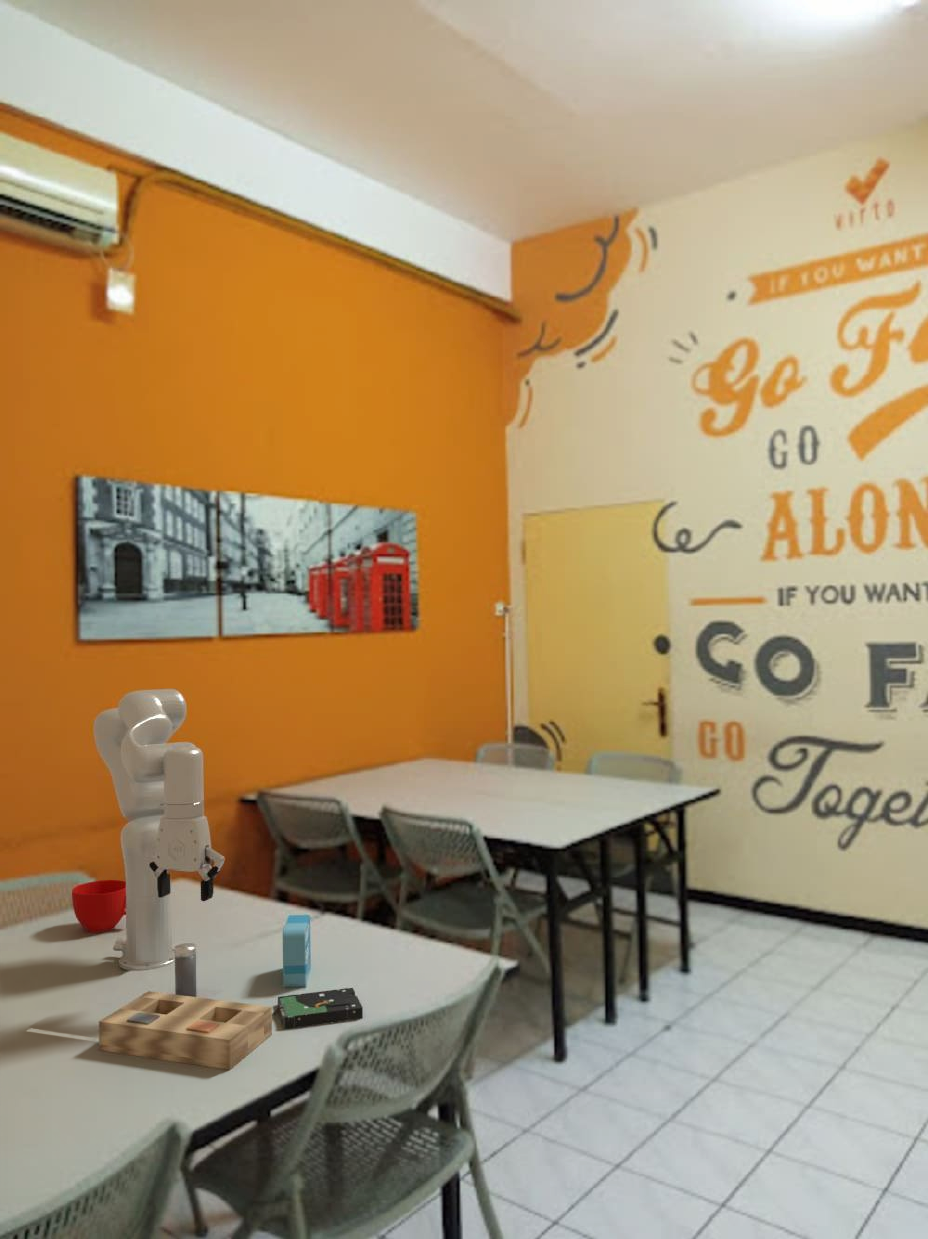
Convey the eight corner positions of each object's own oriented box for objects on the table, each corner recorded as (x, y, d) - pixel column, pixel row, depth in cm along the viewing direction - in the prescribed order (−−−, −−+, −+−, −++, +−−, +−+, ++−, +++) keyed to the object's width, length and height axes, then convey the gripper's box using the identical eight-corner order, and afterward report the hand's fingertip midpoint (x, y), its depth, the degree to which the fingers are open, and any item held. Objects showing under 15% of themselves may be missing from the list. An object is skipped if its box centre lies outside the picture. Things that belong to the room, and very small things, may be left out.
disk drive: (352, 1001, 189) (276, 1010, 184) (352, 986, 189) (276, 995, 184) (363, 1021, 179) (283, 1032, 174) (363, 1007, 179) (283, 1016, 174)
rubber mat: (148, 1007, 185) (148, 1004, 185) (179, 988, 194) (179, 985, 194) (193, 1013, 182) (193, 1010, 182) (222, 993, 191) (222, 990, 191)
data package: (305, 990, 193) (305, 930, 193) (283, 991, 192) (282, 931, 192) (310, 968, 205) (310, 912, 205) (289, 969, 204) (288, 913, 204)
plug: (171, 1000, 187) (170, 949, 187) (183, 992, 191) (182, 942, 191) (188, 1002, 186) (188, 951, 186) (200, 994, 189) (199, 944, 189)
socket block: (99, 1049, 167) (98, 1019, 167) (149, 1017, 180) (148, 989, 180) (229, 1070, 159) (229, 1038, 159) (271, 1034, 172) (271, 1005, 172)
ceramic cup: (134, 936, 226) (133, 894, 226) (63, 937, 227) (62, 895, 227) (152, 919, 239) (152, 879, 239) (85, 919, 240) (85, 879, 240)
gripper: (134, 812, 187) (136, 899, 187) (212, 816, 182) (213, 906, 182) (158, 805, 194) (159, 889, 194) (233, 808, 189) (234, 895, 189)
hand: (185, 897), depth 188 cm, fingers open, 9 cm apart
